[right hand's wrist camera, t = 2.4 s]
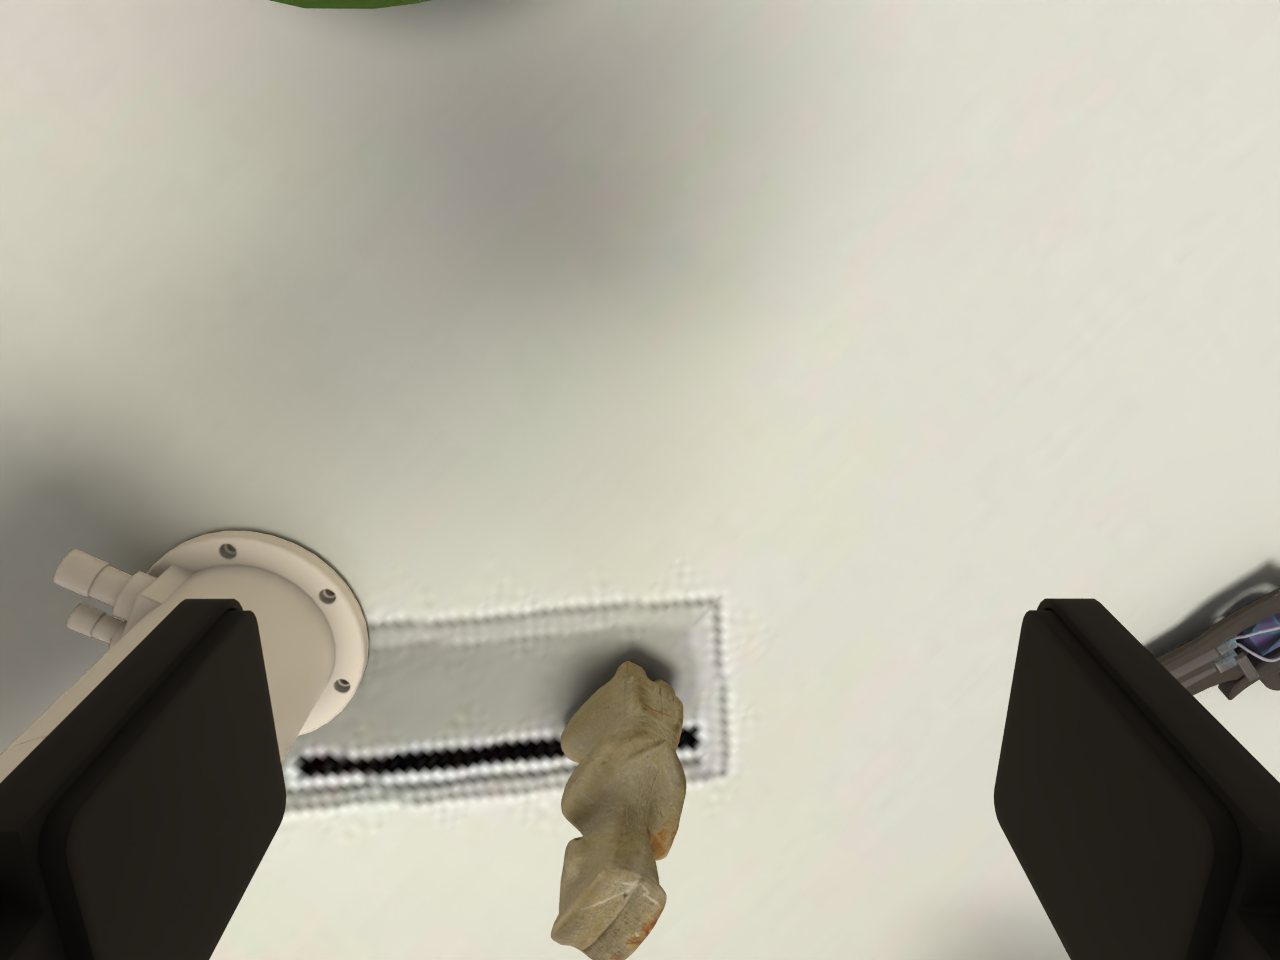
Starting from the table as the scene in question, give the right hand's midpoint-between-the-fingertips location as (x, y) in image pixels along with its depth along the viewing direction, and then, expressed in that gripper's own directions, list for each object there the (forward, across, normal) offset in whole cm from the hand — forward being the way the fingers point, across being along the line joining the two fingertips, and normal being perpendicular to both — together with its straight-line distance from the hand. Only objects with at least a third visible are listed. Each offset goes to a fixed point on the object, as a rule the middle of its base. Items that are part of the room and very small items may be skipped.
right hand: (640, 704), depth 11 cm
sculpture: (+34, -1, -24) cm, 42 cm away
